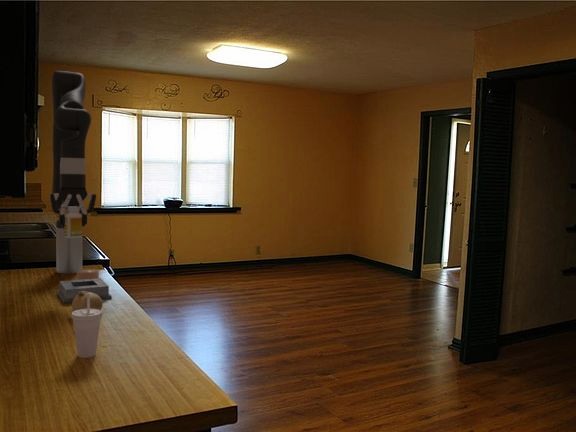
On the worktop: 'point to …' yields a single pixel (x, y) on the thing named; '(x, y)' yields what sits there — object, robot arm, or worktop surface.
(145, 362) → the worktop surface
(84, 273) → the brown egg
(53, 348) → the worktop surface
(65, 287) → the collar socket
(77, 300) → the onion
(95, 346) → the smoothie
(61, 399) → the worktop surface
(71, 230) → the supplement bottle
